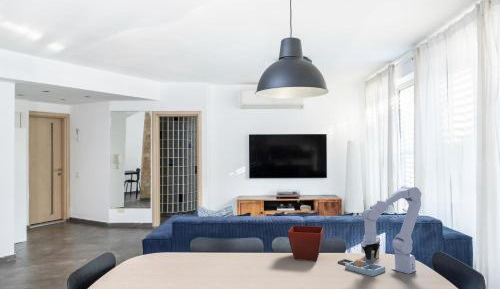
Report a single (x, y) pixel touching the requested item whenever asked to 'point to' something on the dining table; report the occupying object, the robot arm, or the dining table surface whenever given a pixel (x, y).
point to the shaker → (371, 258)
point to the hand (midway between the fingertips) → (371, 258)
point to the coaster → (343, 261)
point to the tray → (366, 268)
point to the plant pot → (305, 242)
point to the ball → (358, 263)
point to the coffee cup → (378, 248)
